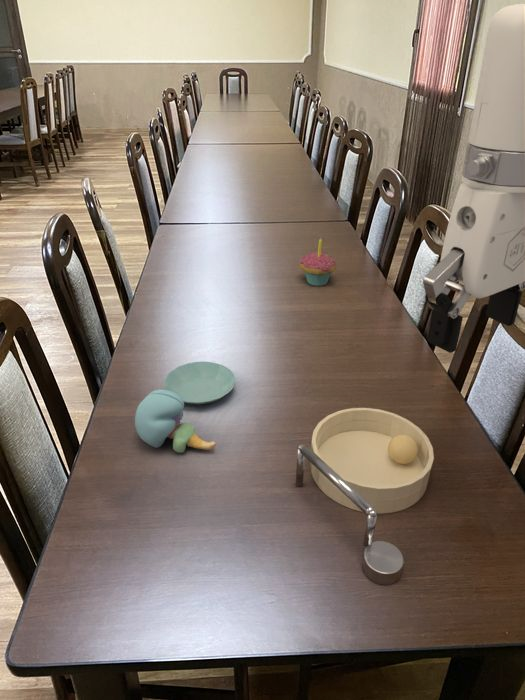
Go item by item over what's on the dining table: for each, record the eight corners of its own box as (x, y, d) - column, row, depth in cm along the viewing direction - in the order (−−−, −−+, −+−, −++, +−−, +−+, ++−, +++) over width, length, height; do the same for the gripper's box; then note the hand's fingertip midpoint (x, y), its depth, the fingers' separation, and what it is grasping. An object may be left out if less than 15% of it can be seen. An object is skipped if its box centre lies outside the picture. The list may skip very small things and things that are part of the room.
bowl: (453, 481, 73) (459, 456, 71) (365, 533, 65) (369, 507, 63) (370, 418, 85) (373, 395, 82) (287, 456, 77) (288, 432, 75)
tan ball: (420, 436, 73) (426, 458, 75) (400, 425, 76) (406, 446, 78) (398, 451, 72) (405, 474, 73) (379, 440, 75) (385, 461, 77)
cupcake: (336, 289, 126) (341, 240, 120) (300, 289, 126) (303, 239, 120) (332, 274, 133) (336, 227, 127) (297, 274, 133) (300, 227, 127)
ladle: (409, 572, 61) (419, 529, 57) (381, 592, 59) (390, 548, 55) (309, 476, 74) (312, 435, 70) (283, 489, 72) (285, 448, 68)
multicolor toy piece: (206, 424, 70) (124, 400, 73) (204, 473, 75) (127, 449, 78) (226, 394, 76) (150, 372, 79) (223, 441, 81) (151, 419, 83)
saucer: (191, 422, 83) (190, 411, 82) (151, 389, 91) (150, 377, 90) (249, 394, 90) (249, 382, 89) (207, 364, 97) (207, 354, 96)
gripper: (484, 189, 41) (446, 375, 50) (599, 161, 50) (550, 324, 59) (409, 171, 47) (387, 342, 55) (525, 149, 55) (490, 300, 64)
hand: (471, 333), depth 57 cm, fingers open, 9 cm apart
